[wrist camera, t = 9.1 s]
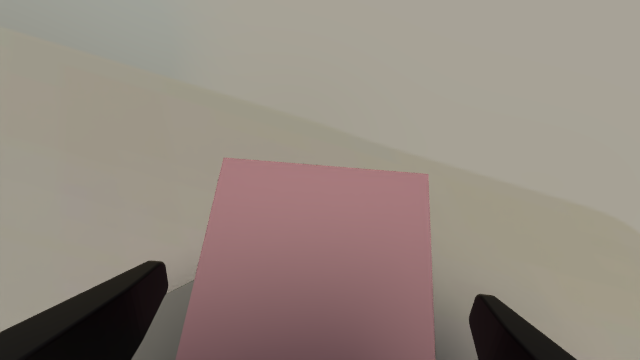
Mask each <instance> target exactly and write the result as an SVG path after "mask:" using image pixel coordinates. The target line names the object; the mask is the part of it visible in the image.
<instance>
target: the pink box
mask: <svg viewBox="0 0 640 360" xmlns="http://www.w3.org/2000/svg"><path fill="white" fill-rule="evenodd" d="M176 360H435V336H434V310H433V284H432V259H431V233H430V207H429V181H428V174H421V173H408V172H396V171H384V170H371V169H359V168H346V167H334V166H321V165H309V164H296V163H284V162H271V161H259V160H246V159H234V158H223V163H222V167H221V171H220V175H219V179H218V183H217V188H216V192H215V196H214V200H213V204H212V209H211V213H210V217H209V221H208V225H207V230H206V234H205V238H204V242H203V246H202V251H201V255H200V259H199V263H198V267H197V272H196V276H195V280H194V284H193V288H192V292H191V297H190V301H189V305H188V309H187V313H186V318H185V322H184V326H183V330H182V334H181V339H180V343H179V347H178V351H177V355H176Z"/></svg>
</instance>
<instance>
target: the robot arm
mask: <svg viewBox="0 0 640 360" xmlns="http://www.w3.org/2000/svg"><path fill="white" fill-rule="evenodd" d="M167 290H168V279H167V273H166V267H165V264H164V263H163V262H161V261H147V262H145V263H143V264H141V265H139V266H137V267H135V268H132V269H130V270H128V271H126V272H124V273H122V274H120V275H118V276H116V277H114V278H112V279H110V280H108V281H105V282H103V283H101V284H99V285H97V286H95V287H93V288H91V289H89V290H87V291H85V292H83V293H81V294H78V295H76V296H74V297H72V298H70V299H68V300H66V301H64V302H62V303H60V304H58V305H56V306H54V307H51V308H49V309H47V310H45V311H43V312H41V313H39V314H37V315H35V316H33V317H31V318H29V319H27V320H24V321H22V322H20V323H18V324H16V325H14V326H12V327H10V328H8V329H6V330H4V331H2V332H0V360H131V359H132V358H133V356H134V354H135V353H136V351H137V349H138V348H139V346H140V344H141V343H142V341H143V339H144V337H145V335H146V333H147V331H148V329H149V327H150V325H151V323H152V321H153V319H154V317H155V315H156V313H157V311H158V309H159V307H160V305H161V303H162V301H163V299H164V297H165V295H166V292H167ZM469 324H470V328H471V332H472V336H473V340H474V344H475V348H476V352H477V356H478V360H577V359H575V358H574V357H573V356H571V355H570V354H569V353H568V352H566V351H565V350H564V349H562V348H561V347H560V346H558V345H557V344H556V343H555V342H553V341H552V340H551V339H549V338H548V337H547V336H545V335H544V334H543V333H542V332H540V331H539V330H538V329H536V328H535V327H534V326H532V325H531V324H530V323H529V322H527V321H526V320H525V319H523V318H522V317H521V316H519V315H518V314H517V313H516V312H514V311H513V310H512V309H510V308H509V307H508V306H506V305H505V304H504V303H503V302H501V301H500V300H499V299H497V298H496V297H495V296H492V295H485V294H478V295H477V296H476V297H475V300H474V303H473V306H472V309H471V313H470V316H469Z"/></svg>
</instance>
